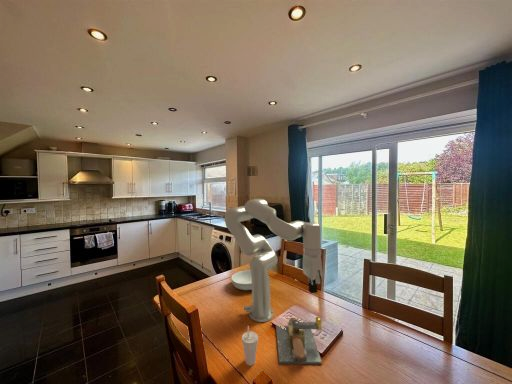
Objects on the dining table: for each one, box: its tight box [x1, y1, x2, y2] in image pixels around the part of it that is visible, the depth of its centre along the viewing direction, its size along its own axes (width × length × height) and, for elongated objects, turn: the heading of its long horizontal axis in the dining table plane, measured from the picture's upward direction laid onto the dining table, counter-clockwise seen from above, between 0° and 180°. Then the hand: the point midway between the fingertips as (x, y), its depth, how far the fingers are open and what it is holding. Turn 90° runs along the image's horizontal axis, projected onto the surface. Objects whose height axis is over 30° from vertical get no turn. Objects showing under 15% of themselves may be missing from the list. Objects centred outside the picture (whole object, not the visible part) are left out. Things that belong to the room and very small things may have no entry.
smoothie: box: [241, 325, 259, 366], centre depth 80 cm, size 6×6×14 cm
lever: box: [292, 316, 323, 332], centre depth 88 cm, size 12×3×5 cm, turn 88°
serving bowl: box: [230, 269, 252, 291], centre depth 140 cm, size 21×21×7 cm
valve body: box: [275, 317, 323, 365], centre depth 89 cm, size 16×20×6 cm
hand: (313, 291), depth 92 cm, fingers closed
